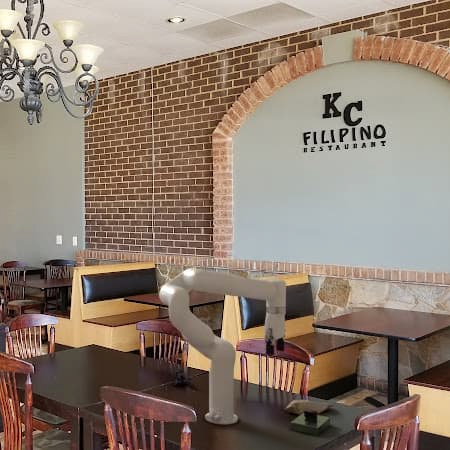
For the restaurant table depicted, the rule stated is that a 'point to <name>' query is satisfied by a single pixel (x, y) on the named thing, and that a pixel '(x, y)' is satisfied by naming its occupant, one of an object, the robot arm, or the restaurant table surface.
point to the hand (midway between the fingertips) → (275, 352)
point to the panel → (310, 425)
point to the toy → (180, 378)
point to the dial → (310, 414)
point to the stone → (306, 406)
